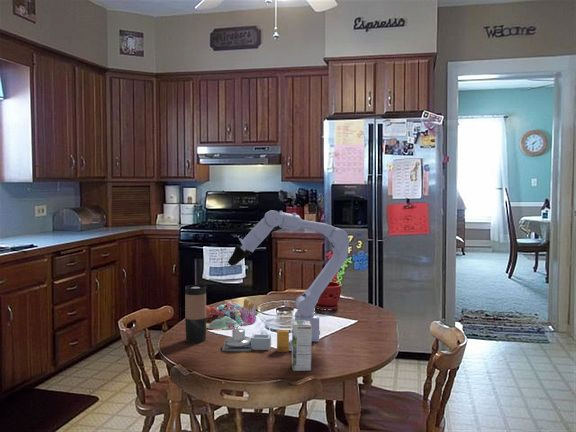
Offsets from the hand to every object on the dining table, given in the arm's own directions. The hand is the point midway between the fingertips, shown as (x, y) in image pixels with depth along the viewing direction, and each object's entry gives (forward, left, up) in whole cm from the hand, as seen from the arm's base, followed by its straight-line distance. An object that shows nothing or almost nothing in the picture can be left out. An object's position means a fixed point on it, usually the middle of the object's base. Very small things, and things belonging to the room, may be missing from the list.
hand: (231, 263), depth 192 cm
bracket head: (-12, +4, -28) cm, 31 cm away
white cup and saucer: (-4, +8, -28) cm, 30 cm away
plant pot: (-36, -53, -29) cm, 70 cm away
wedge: (-20, +11, -28) cm, 36 cm away
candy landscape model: (+6, -26, -29) cm, 40 cm away
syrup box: (-27, +28, -29) cm, 48 cm away
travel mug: (+13, +1, -29) cm, 31 cm away
